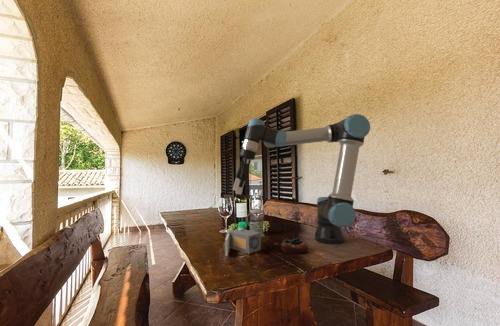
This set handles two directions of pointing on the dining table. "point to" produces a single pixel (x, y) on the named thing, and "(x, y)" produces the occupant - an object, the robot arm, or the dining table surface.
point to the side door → (226, 244)
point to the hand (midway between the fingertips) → (236, 192)
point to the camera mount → (242, 225)
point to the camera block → (245, 240)
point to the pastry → (294, 246)
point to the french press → (256, 221)
